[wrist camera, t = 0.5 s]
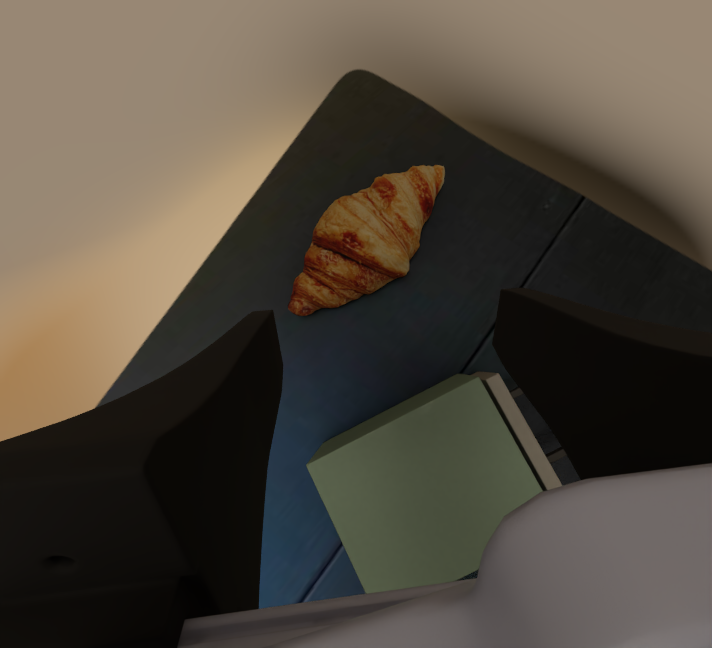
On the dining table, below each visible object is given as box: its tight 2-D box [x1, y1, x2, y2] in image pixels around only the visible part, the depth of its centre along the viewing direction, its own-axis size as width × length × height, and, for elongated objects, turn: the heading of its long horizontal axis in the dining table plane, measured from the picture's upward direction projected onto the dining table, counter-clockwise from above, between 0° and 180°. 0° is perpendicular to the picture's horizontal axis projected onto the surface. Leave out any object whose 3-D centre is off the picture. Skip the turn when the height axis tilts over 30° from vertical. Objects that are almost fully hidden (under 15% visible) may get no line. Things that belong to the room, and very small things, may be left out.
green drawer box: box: [306, 374, 543, 594], centre depth 31 cm, size 15×12×8 cm
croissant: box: [288, 165, 445, 316], centre depth 35 cm, size 21×10×8 cm, turn 136°
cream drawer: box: [471, 371, 567, 491], centre depth 31 cm, size 19×11×6 cm, turn 117°
